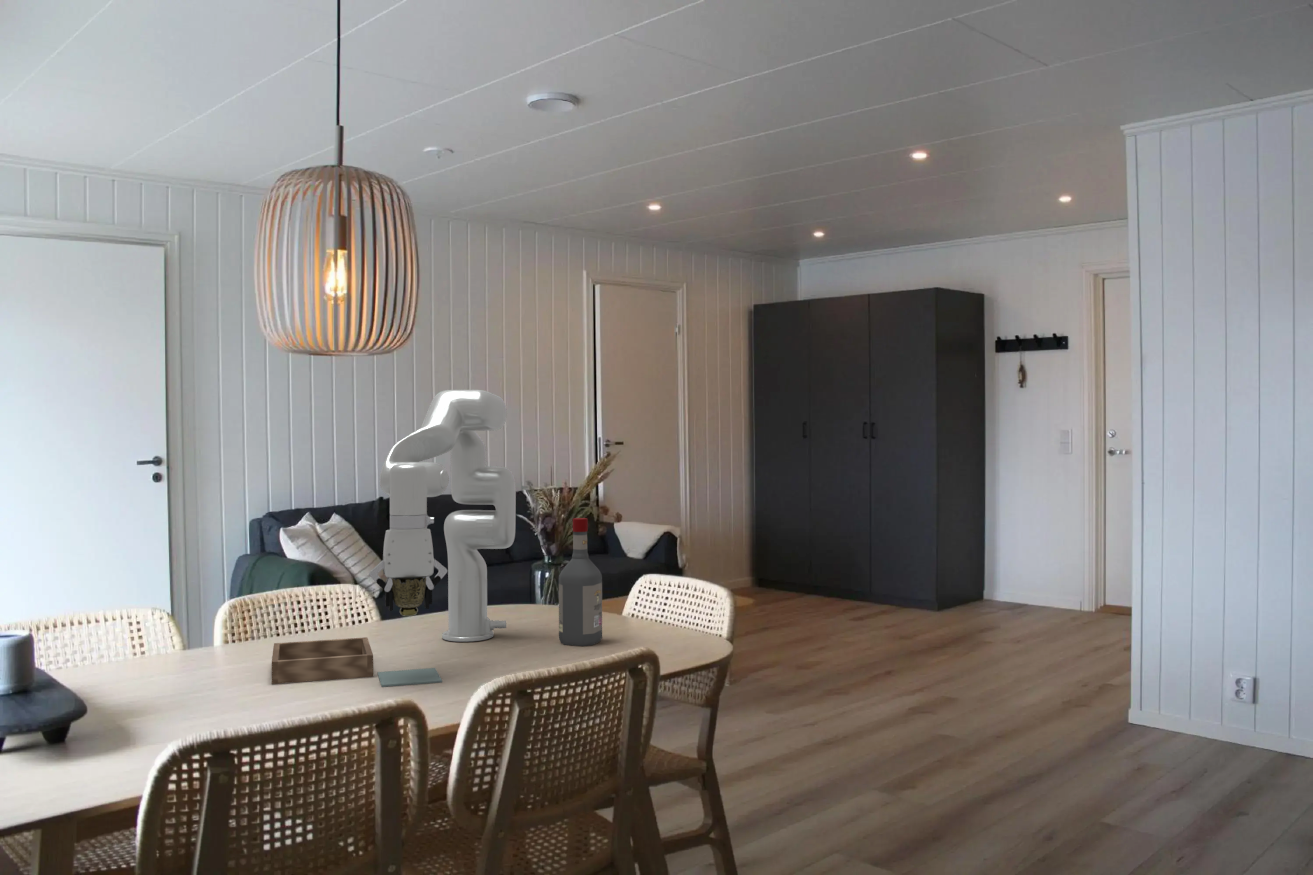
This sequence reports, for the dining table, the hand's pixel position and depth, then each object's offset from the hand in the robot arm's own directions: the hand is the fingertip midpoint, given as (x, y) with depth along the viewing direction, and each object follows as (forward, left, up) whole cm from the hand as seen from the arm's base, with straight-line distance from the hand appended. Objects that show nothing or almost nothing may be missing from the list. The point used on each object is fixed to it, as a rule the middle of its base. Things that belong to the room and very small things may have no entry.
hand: (408, 608), depth 219 cm
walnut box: (+17, -14, -15) cm, 26 cm away
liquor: (-43, -24, -15) cm, 51 cm away
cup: (0, 0, -2) cm, 2 cm away
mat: (0, 0, -15) cm, 15 cm away
